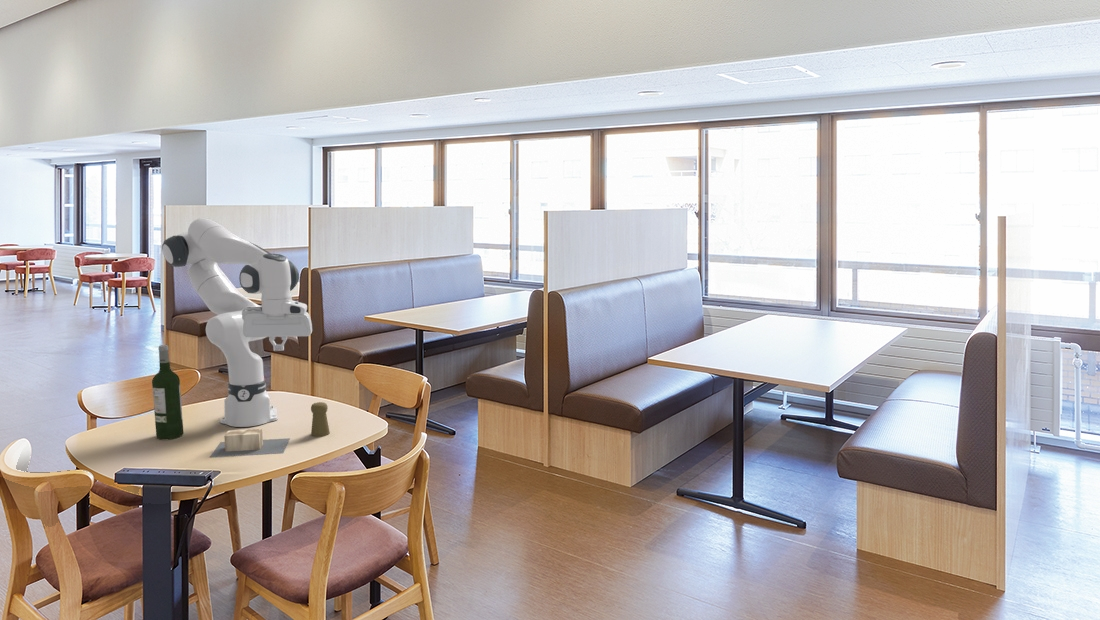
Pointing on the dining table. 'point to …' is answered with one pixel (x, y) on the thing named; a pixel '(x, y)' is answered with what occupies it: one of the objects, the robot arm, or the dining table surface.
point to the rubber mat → (267, 448)
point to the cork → (319, 420)
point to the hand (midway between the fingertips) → (278, 350)
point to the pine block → (243, 440)
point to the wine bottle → (167, 399)
